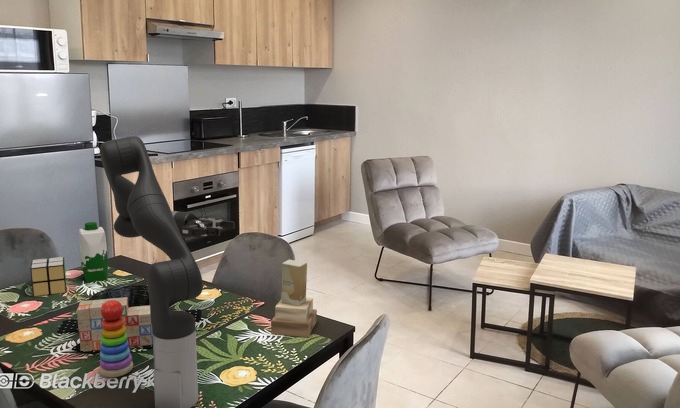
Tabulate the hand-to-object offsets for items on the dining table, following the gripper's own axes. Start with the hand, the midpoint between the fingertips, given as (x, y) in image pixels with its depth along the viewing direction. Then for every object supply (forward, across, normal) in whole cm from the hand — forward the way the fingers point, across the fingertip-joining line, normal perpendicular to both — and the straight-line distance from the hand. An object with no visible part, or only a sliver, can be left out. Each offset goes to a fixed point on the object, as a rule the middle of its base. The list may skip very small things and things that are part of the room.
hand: (227, 228), depth 164 cm
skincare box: (+18, +6, +22) cm, 29 cm away
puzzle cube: (-72, +6, +29) cm, 78 cm away
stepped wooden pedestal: (+18, +6, +30) cm, 36 cm away
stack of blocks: (-23, -19, +30) cm, 42 cm away
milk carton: (-66, +21, +29) cm, 75 cm away
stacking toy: (-14, -32, +30) cm, 47 cm away
